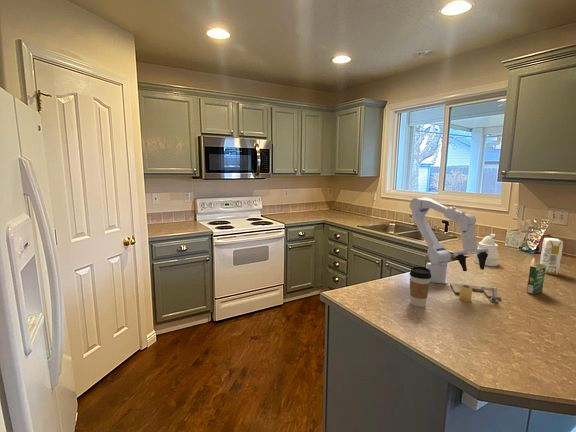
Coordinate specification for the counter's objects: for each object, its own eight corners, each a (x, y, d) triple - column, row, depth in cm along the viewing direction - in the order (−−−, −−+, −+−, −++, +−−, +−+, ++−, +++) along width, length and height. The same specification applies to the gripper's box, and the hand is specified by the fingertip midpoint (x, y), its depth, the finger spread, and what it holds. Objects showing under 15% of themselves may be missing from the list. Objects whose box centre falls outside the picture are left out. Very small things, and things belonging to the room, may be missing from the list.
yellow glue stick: (460, 301, 136) (461, 286, 135) (458, 297, 140) (459, 283, 139) (472, 302, 134) (473, 288, 133) (469, 298, 139) (471, 284, 138)
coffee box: (532, 295, 144) (536, 267, 142) (525, 292, 147) (529, 265, 145) (542, 292, 148) (546, 265, 146) (535, 290, 150) (539, 263, 148)
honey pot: (497, 262, 196) (501, 233, 193) (498, 267, 185) (502, 237, 183) (473, 258, 203) (477, 230, 200) (472, 263, 192) (476, 234, 189)
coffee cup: (427, 301, 134) (431, 267, 132) (429, 309, 126) (433, 273, 124) (406, 298, 137) (409, 265, 135) (407, 306, 129) (410, 271, 127)
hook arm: (480, 300, 137) (482, 287, 136) (478, 297, 140) (480, 284, 139) (498, 302, 135) (500, 289, 134) (496, 300, 138) (497, 286, 137)
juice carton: (542, 273, 175) (547, 240, 173) (537, 269, 183) (542, 237, 180) (559, 275, 173) (565, 241, 170) (553, 271, 181) (558, 238, 178)
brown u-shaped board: (455, 294, 143) (455, 292, 143) (450, 285, 154) (450, 282, 154) (501, 300, 137) (501, 297, 137) (492, 290, 149) (492, 287, 149)
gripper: (456, 242, 142) (461, 272, 141) (490, 238, 141) (495, 269, 140) (450, 242, 149) (454, 271, 148) (481, 238, 148) (486, 267, 147)
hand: (473, 270), depth 144 cm, fingers open, 7 cm apart
